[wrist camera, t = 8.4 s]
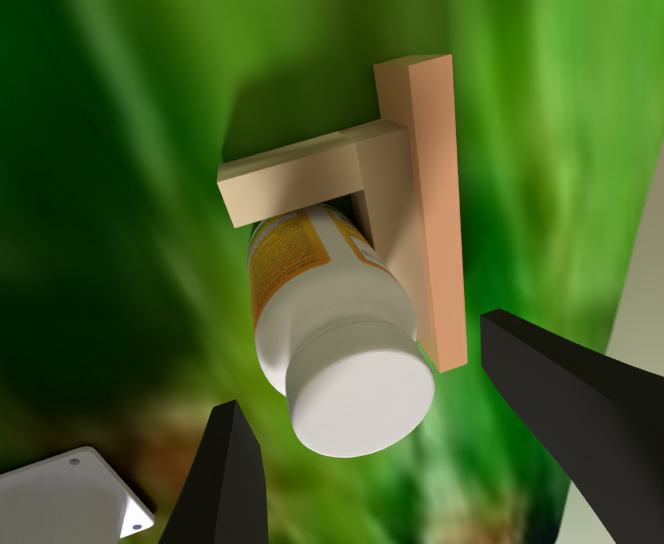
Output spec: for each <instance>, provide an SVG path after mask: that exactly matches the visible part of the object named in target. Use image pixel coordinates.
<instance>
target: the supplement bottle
mask: <svg viewBox="0 0 664 544" xmlns="http://www.w3.org/2000/svg"><path fill="white" fill-rule="evenodd" d="M247 267H248V276H249V286H250V295H251V306H252V316H253V324H254V334H255V344H256V350H257V355H258V359H259V363H260V365H261V368H262V370H263V372H264V374H265V376H266V377H267V379H268V380H269V382H270V383H271V384H272V385H273V386H274V388H276V389H277V390H278V391H279V392H280V393H282V394H283V395H284V396H286V399H287V404H288V409H289V413H290V418H291V423H292V426H293V429H294V432H295V434H296V435H297V437H298V438H299V440H300V441H301V442H302V443H303V444H304V445H305V446H306V447H308V448H309V449H311V450H313V451H315V452H317V453H319V454H322V455H326V456H332V457H343V458H345V457H357V456H362V455H366V454H370V453H374V452H376V451H379V450H381V449H384V448H386V447H388V446H390V445H392V444H394V443H395V442H397V441H399V440H400V439H402V438H403V437H404V436H406V435H407V434H408V433H410V432H411V431H412V430H413V429H414V428H415V427H416V426H417V425H418V424H419V423H420V422H421V420H422V419H423V418H424V417H425V415H426V413H427V411H428V410H429V408H430V406H431V403H432V400H433V397H434V390H435V385H434V377H433V374H432V371H431V369H430V367H429V365H428V364H427V362H426V360H425V358H424V357H423V355H422V354H421V352H420V350H419V349H418V347H417V345H416V343H415V342H416V336H417V321H416V315H415V311H414V308H413V305H412V303H411V301H410V299H409V297H408V295H407V294H406V292H405V290H404V289H403V287H402V286H401V284H400V283H399V282H398V281H397V279H396V278H395V277H394V276H393V274H392V273H391V272H390V271H389V269H388V268H387V267H386V265H385V264H384V263H383V262H382V260H381V259H380V258H379V256H378V255H377V253H376V252H375V251H374V250H373V249H372V247H371V246H370V245H369V243H368V242H367V241H366V240H365V238H364V237H363V236H362V234H361V233H360V232H359V231H358V229H357V228H356V227H355V225H354V224H353V223H352V222H351V221H350V220H349V219H348V217H346V216H345V215H344V214H343V213H342V212H341V211H339V210H338V209H336V208H334V207H332V206H330V205H328V204H325V203H321V202H320V203H317V204H314V205H310V206H307V207H304V208H300V209H297V210H294V211H290V212H287V213H284V214H280V215H277V216H274V217H270V218H267V219H264V220H262V221H261V223H260V224H259V225H258V226H257V228H256V229H255V231H254V233H253V235H252V237H251V240H250V243H249V247H248V253H247Z"/></svg>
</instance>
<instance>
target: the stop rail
mask: <svg viewBox="0 0 664 544" xmlns="http://www.w3.org/2000/svg"><path fill="white" fill-rule="evenodd" d="M373 68H374V75H375V82H376V89H377V95H378V102H379V109H380V116H381V119H383V118H384V119H386V120H389V121H392V122H394V123H397V124H400V125H403V126H405V127H408V131H409V140H410V149H411V158H412V167H413V176H414V185H415V194H416V203H417V212H418V220H419V229H420V238H421V247H422V256H423V265H424V274H425V283H426V292H427V301H428V310H429V319H430V328H431V337H428V338H425V339H422V340H419V343H420V344H421V346H422V347H423V349H424V350H425V352H426V353H427V355H428V356H429V358H430V359H431V360H432V362H433V363H434V365H435V366H436V368H437V369H438V371H439V372H440V373H442V372H445V371H448V370H451V369H453V368H456V367H459V366H462V365H465V364H467V344H466V324H465V304H464V285H463V265H462V245H461V225H460V205H459V185H458V165H457V145H456V125H455V105H454V85H453V65H452V54H436V55H408V56H404V57H401V58H397V59H393V60H390V61H386V62H382V63H378V64H375V65H373Z"/></svg>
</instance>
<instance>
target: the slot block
mask: <svg viewBox="0 0 664 544" xmlns="http://www.w3.org/2000/svg"><path fill="white" fill-rule="evenodd" d="M217 184H218V187H219V189H220V192H221V194H222V197H223V199H224V202H225V205H226V207H227V210H228V212H229V215H230V218H231V220H232V223H233V225H234V228H237V227H240V226H244V225H247V224H250V223H254V222H257V221H260V220H264V219H267V218H270V217H274V216H277V215H280V214H284V213H287V212H290V211H294V210H297V209H300V208H304V207H307V206H310V205H314V204H317V203H320V202H324V201H327V200H330V199H334V198H337V197H340V196H344V195H347V194H350V195H351V200H352V205H353V210H354V215H355V219H356V224H357V229H358V231H359V232H360V233H361V234H362V236H363V237H364V238H365V240H366V241H367V242H368V243H369V245H370V246H371V247H372V249H373V250H374V251H375V252H376V253H377V255H378V256H379V258H380V259H381V260H382V262H383V263H384V264H385V265H386V267H387V268H388V269H389V271H390V272H391V273H392V274H393V276H394V277H395V278H396V279H397V281H398V282H399V283H400V284H401V286H402V287H403V289H404V290H405V292H406V294H407V295H408V297H409V299H410V301H411V303H412V305H413V308H414V311H415V315H416V321H417V336H416V341H419V340H422V339H425V338H428V337H431V328H430V319H429V310H428V301H427V292H426V283H425V274H424V265H423V256H422V247H421V238H420V229H419V220H418V212H417V203H416V194H415V185H414V176H413V167H412V158H411V149H410V140H409V131H408V127H405V126H403V125H400V124H397V123H394V122H392V121H389V120H386V119H384V118H383V119H379V120H376V121H372V122H368V123H365V124H361V125H358V126H354V127H351V128H347V129H344V130H340V131H337V132H333V133H330V134H326V135H323V136H319V137H316V138H312V139H309V140H305V141H301V142H298V143H294V144H291V145H287V146H284V147H280V148H277V149H273V150H270V151H266V152H263V153H259V154H256V155H252V156H249V157H245V158H242V159H238V160H235V161H231V162H227V163H224V164H220V165H219V166H218V176H217Z"/></svg>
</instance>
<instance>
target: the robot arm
mask: <svg viewBox="0 0 664 544" xmlns="http://www.w3.org/2000/svg"><path fill="white" fill-rule="evenodd" d="M480 329H481V366H482V368H483V369H484V371H485V372H486V374H487V375H488V377H489V378H490V380H491V382H492V383H493V385H494V386H495V387H496V389H497V390H498V392H499V393H500V395H501V396H502V397H503V399H504V400H505V401H506V402H507V404H508V405H509V406H510V407H511V408H512V409H513V411H514V412H515V413H516V414H517V415H518V417H519V418H520V419H521V420H522V421H523V422H524V424H525V425H526V426H527V427H528V428H529V429H530V431H531V432H532V433H533V434H534V435H535V436H536V438H537V439H538V440H539V441H540V442H541V443H542V445H543V446H544V447H545V448H546V449H547V450H548V452H549V453H550V454H551V455H552V456H553V457H554V459H555V460H556V461H557V462H558V463H559V465H560V466H561V467H562V468H563V470H564V471H565V472H566V473H567V475H568V476H569V477H570V478H571V480H572V481H573V483H574V484H575V485H576V487H577V488H578V489H579V491H580V492H581V494H582V495H583V496H584V498H585V499H586V501H587V502H588V504H589V505H590V506H591V508H592V509H593V511H594V512H595V513H596V515H597V516H598V518H599V519H600V521H601V522H602V524H603V525H604V526H605V528H606V529H607V531H608V532H609V534H610V535H611V537H612V538H613V540H614V541H615V542H616V544H664V377H662V376H660V375H657V374H654V373H651V372H648V371H645V370H642V369H639V368H636V367H634V366H631V365H628V364H626V363H623V362H621V361H618V360H615V359H613V358H610V357H607V356H605V355H603V354H600V353H598V352H595V351H593V350H591V349H588V348H586V347H583V346H581V345H579V344H576V343H574V342H572V341H570V340H567V339H565V338H563V337H561V336H558V335H556V334H554V333H552V332H550V331H548V330H545V329H543V328H541V327H539V326H537V325H535V324H533V323H530V322H528V321H526V320H524V319H522V318H520V317H518V316H515V315H513V314H511V313H509V312H507V311H504V310H502V309H500V308H499V309H496V310H493V311H490V312H488V313H485V314H482V315H480ZM154 520H155V517H154V515H153V514H152V513H151V512H150V511H149V509H148V508H147V507H146V506H145V505H144V504H143V503H142V502H141V500H140V499H139V498H138V497H137V496H136V495H135V494H134V493H133V491H132V490H131V489H130V488H129V487H128V486H127V485H126V484H125V482H124V481H123V480H122V479H121V478H120V477H119V476H118V475H117V474H116V472H115V471H114V470H113V469H112V468H111V467H110V466H109V465H108V463H107V462H106V461H105V460H104V459H103V458H102V457H101V456H100V454H99V453H98V452H97V451H96V450H95V449H94V448H92V447H87V446H85V447H81V448H78V449H75V450H72V451H69V452H66V453H63V454H60V455H57V456H54V457H51V458H48V459H45V460H42V461H39V462H36V463H33V464H31V465H28V466H25V467H22V468H19V469H16V470H13V471H10V472H7V473H4V474H1V475H0V544H119V540H120V538H122V537H125V536H127V535H130V534H133V533H136V532H138V531H141V530H144V529H147V528H149V527H151V526H152V525H153V524H154ZM158 544H268V521H267V499H266V482H265V475H264V468H263V462H262V456H261V450H260V445H259V443H258V441H257V439H256V437H255V435H254V433H253V431H252V429H251V428H250V426H249V424H248V422H247V420H246V418H245V416H244V414H243V412H242V410H241V408H240V406H239V404H238V402H237V400H236V399H235V400H233V401H230V402H227V403H224V404H221V405H218V406H215V407H214V408H213V409H212V411H211V414H210V417H209V420H208V423H207V426H206V428H205V431H204V434H203V437H202V440H201V443H200V445H199V448H198V451H197V454H196V456H195V459H194V461H193V464H192V466H191V469H190V471H189V474H188V477H187V479H186V482H185V484H184V487H183V489H182V491H181V494H180V496H179V498H178V501H177V503H176V505H175V507H174V510H173V512H172V514H171V516H170V518H169V521H168V523H167V525H166V527H165V530H164V532H163V534H162V536H161V538H160V540H159V542H158Z"/></svg>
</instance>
